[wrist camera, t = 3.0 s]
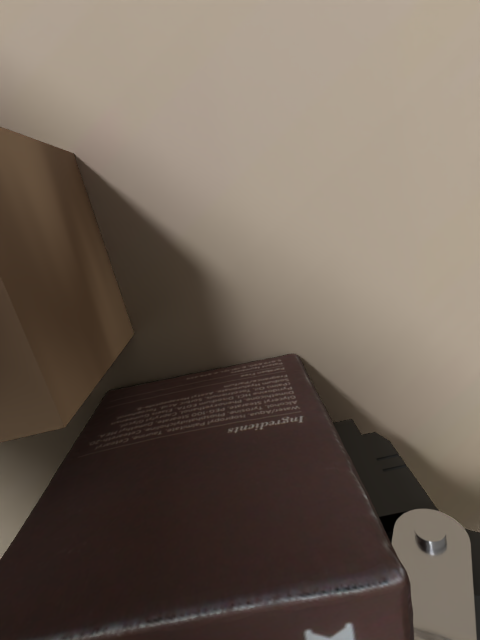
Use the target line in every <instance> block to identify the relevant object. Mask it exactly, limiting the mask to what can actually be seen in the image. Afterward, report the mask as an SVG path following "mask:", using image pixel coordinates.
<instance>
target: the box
mask: <svg viewBox="0 0 480 640" xmlns="http://www.w3.org/2000/svg"><path fill="white" fill-rule="evenodd" d="M413 639H414V626H413V608H412V600H411V584H410V580H409V577H408V574H407V571H406V569H405V568H404V566H403V565H402V563H401V561H400V560H399V558H398V556H397V554H396V552H395V550H394V548H393V546H392V544H391V542H390V540H389V538H388V536H387V534H386V532H385V530H384V527H383V525H382V523H381V521H380V519H379V517H378V514H377V512H376V510H375V508H374V506H373V504H372V502H371V499H370V497H369V495H368V492H367V491H366V489H365V487H364V485H363V484H362V482H361V480H360V477H359V475H358V473H357V471H356V469H355V467H354V465H353V463H352V460H351V458H350V456H349V455H348V453H347V451H346V449H345V447H344V445H343V443H342V441H341V439H340V436H339V434H338V432H337V430H336V429H335V427H334V425H333V423H332V421H331V418H330V416H329V414H328V412H327V410H326V408H325V407H324V404H323V403H322V401H321V399H320V397H319V395H318V393H317V391H316V389H315V388H314V386H313V384H312V382H311V380H310V378H309V375H308V374H307V372H306V370H305V368H304V365H303V363H302V361H301V359H300V357H299V356H298V355H297V354H287V355H283V356H279V357H274V358H268V359H264V360H259V361H253V362H249V363H244V364H239V365H234V366H230V367H226V368H219V369H214V370H210V371H205V372H200V373H195V374H190V375H184V376H180V377H176V378H171V379H165V380H160V381H155V382H151V383H146V384H141V385H137V386H132V387H126V388H122V389H116V390H110V391H108V392H107V393H106V394H105V396H104V398H103V399H102V401H101V403H100V404H99V406H98V408H97V409H96V410H95V412H94V414H93V415H92V417H91V418H90V420H89V421H88V423H87V424H86V426H85V428H84V430H83V431H82V432H81V434H80V436H79V437H78V439H77V440H76V441H75V443H74V445H73V447H72V448H71V450H70V452H69V453H68V455H67V456H66V458H65V459H64V461H63V462H62V464H61V465H60V467H59V468H58V470H57V472H56V473H55V475H54V477H53V478H52V480H51V482H50V484H49V485H48V487H47V488H46V490H45V492H44V493H43V495H42V496H41V498H40V499H39V501H38V503H37V504H36V506H35V507H34V509H33V510H32V512H31V514H30V516H29V517H28V518H27V520H26V521H25V523H24V525H23V526H22V528H21V529H20V531H19V532H18V534H17V536H16V537H15V539H14V540H13V542H12V543H11V545H10V546H9V548H8V549H7V551H6V552H5V554H4V555H3V556H2V558H1V559H0V640H413Z"/></svg>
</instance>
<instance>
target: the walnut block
mask: <svg viewBox="0 0 480 640" xmlns="http://www.w3.org/2000/svg"><path fill="white" fill-rule="evenodd" d="M133 335H134V331H133V328H132V325H131V322H130V319H129V316H128V313H127V310H126V307H125V305H124V302H123V299H122V296H121V293H120V290H119V287H118V284H117V281H116V278H115V275H114V272H113V269H112V266H111V263H110V260H109V257H108V254H107V251H106V248H105V245H104V242H103V239H102V236H101V233H100V230H99V227H98V224H97V221H96V218H95V216H94V213H93V210H92V207H91V204H90V201H89V198H88V195H87V192H86V189H85V186H84V183H83V180H82V177H81V174H80V171H79V168H78V165H77V162H76V159H75V156H74V153H71V152H68V151H65V150H63V149H60V148H57V147H54V146H52V145H49V144H46V143H43V142H41V141H38V140H35V139H32V138H30V137H27V136H24V135H21V134H19V133H16V132H13V131H10V130H8V129H5V128H2V127H0V443H1V442H5V441H10V440H14V439H18V438H23V437H27V436H31V435H36V434H40V433H44V432H48V431H53V430H57V429H61V428H65V427H66V426H67V424H68V423H69V422H70V420H71V419H72V418H73V416H74V415H75V413H76V412H77V411H78V409H79V408H80V407H81V405H82V404H83V403H84V401H85V400H86V399H87V397H88V396H89V395H90V393H91V392H92V391H93V389H94V388H95V387H96V385H97V384H98V382H99V381H100V380H101V378H102V377H103V376H104V374H105V373H106V372H107V370H108V369H109V368H110V366H111V365H112V364H113V362H114V361H115V360H116V358H117V357H118V356H119V354H120V353H121V352H122V350H123V349H124V347H125V346H126V345H127V343H128V342H129V341H130V339H131V338H132V337H133Z"/></svg>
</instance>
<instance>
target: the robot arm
mask: <svg viewBox="0 0 480 640" xmlns="http://www.w3.org/2000/svg"><path fill="white" fill-rule="evenodd" d="M333 425H334V427H335V429H336V430H337V432H338V434H339V436H340V439H341V441H342V443H343V445H344V447H345V449H346V451H347V453H348V455H349V456H350V458H351V460H352V463H353V465H354V467H355V469H356V471H357V473H358V475H359V477H360V480H361V482H362V484H363V485H364V487H365V489H366V491H367V492H368V495H369V497H370V499H371V502H372V504H373V506H374V508H375V510H376V512H377V514H378V517H379V519H380V521H381V523H382V525H383V527H384V530H385V532H386V534H387V536H388V538H389V540H390V542H391V544H392V546H393V548H394V550H395V552H396V554H397V556H398V558H399V560H400V561H401V563H402V565H403V566H404V568H405V569H406V571H407V574H408V577H409V580H410V584H411V600H412V608H413V626H414V639H413V640H480V533H479V532H475V531H471V530H468V529H465V528H464V527H463V526H462V525H461V524H460V523H459V522H458V521H457V520H455V519H454V518H452V517H451V516H449V515H447V514H445V513H443V512H440V511H439V510H438V509H437V508H436V507H435V505H434V504H433V502H432V501H431V499H430V498H429V497H428V495H427V494H426V492H425V491H424V489H423V488H422V487H421V485H420V484H419V482H418V481H417V479H416V478H415V477H414V475H413V474H412V472H411V471H410V470H409V468H408V467H407V466H406V464H405V462H404V461H403V460H402V458H401V457H400V456H399V454H398V452H397V451H396V450H395V448H394V447H393V445H392V444H391V442H390V441H389V440H387V439H385V438H384V437H382V436H380V435H379V434H377V433H376V432H373V433H368V434H364V435H361V433H360V431H359V430H358V428H357V426H356V425H355V423H354V421H353V420H352V419H349V420H344V421H340V422H335V423H333Z"/></svg>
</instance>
